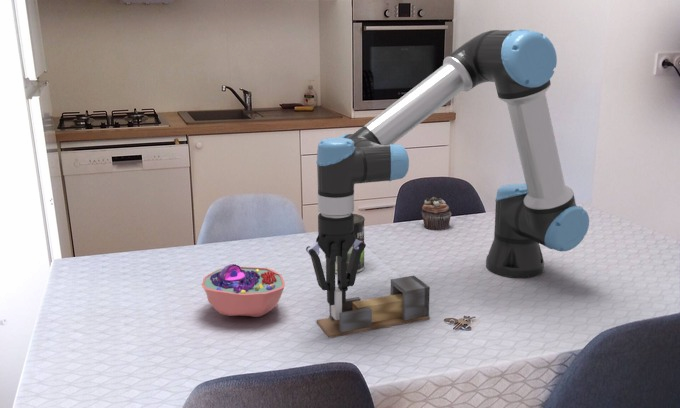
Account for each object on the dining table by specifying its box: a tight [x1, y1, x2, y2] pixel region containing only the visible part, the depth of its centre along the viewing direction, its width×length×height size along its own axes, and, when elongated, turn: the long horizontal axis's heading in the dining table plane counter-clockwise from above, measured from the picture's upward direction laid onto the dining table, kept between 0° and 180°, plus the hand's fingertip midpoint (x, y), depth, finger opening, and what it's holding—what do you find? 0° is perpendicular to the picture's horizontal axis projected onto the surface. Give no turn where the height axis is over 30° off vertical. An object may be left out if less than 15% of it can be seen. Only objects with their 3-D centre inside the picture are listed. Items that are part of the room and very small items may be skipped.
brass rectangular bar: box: [352, 293, 403, 322], centre depth 143 cm, size 14×4×4 cm, turn 111°
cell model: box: [201, 263, 286, 318], centre depth 146 cm, size 17×20×11 cm
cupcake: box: [421, 195, 452, 231], centre depth 208 cm, size 10×10×10 cm
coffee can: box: [335, 213, 366, 274], centre depth 173 cm, size 10×10×14 cm
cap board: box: [316, 275, 430, 339], centre depth 142 cm, size 24×8×8 cm, turn 111°
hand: (336, 317), depth 139 cm, fingers closed
